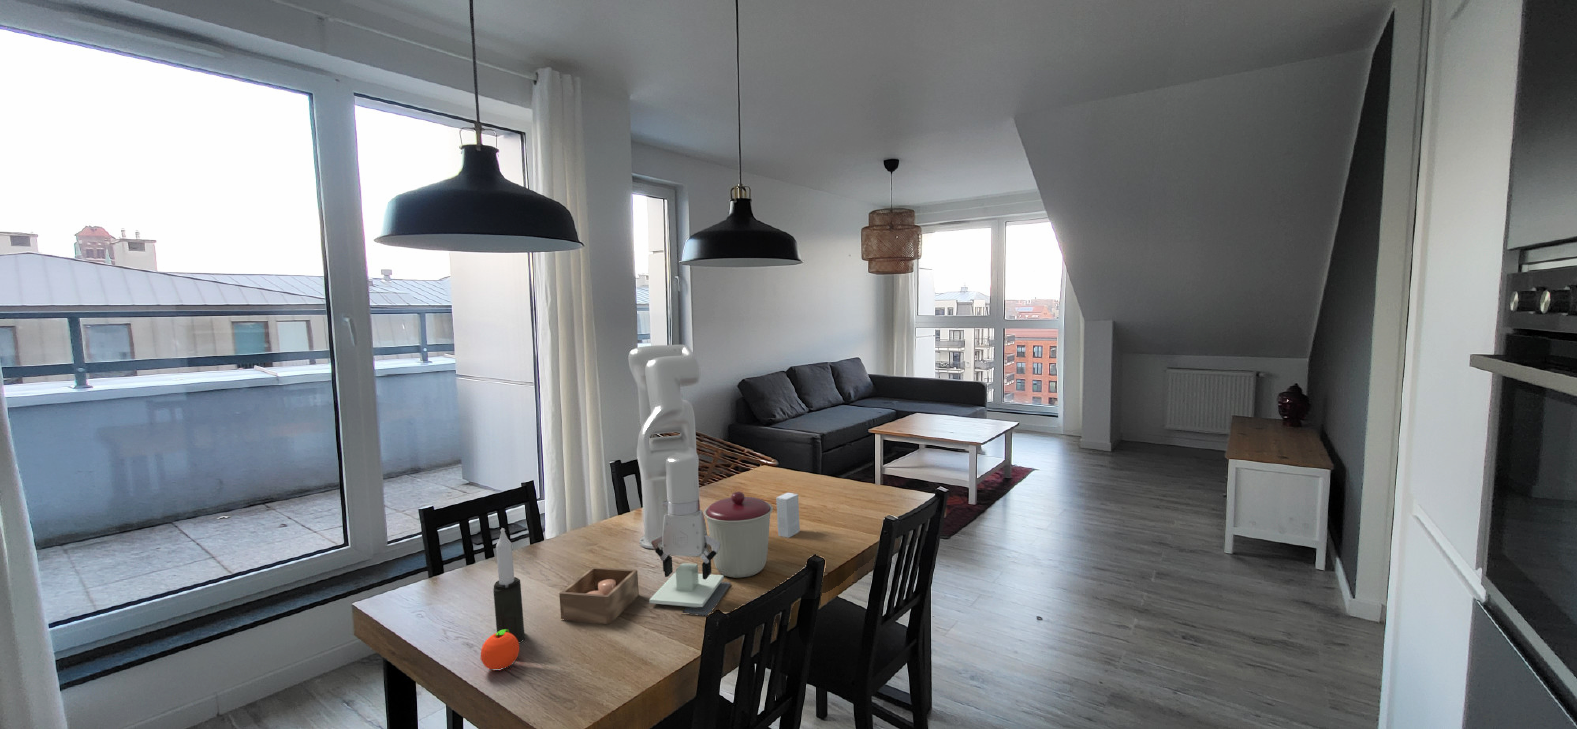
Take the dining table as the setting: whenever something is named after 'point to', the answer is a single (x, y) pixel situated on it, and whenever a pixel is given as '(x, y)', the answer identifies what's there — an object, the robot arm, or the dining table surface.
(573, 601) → the box
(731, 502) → the canister
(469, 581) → the dining table surface
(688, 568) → the lid
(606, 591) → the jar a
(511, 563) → the candle
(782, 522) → the skincare box
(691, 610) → the trivet
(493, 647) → the clementine
